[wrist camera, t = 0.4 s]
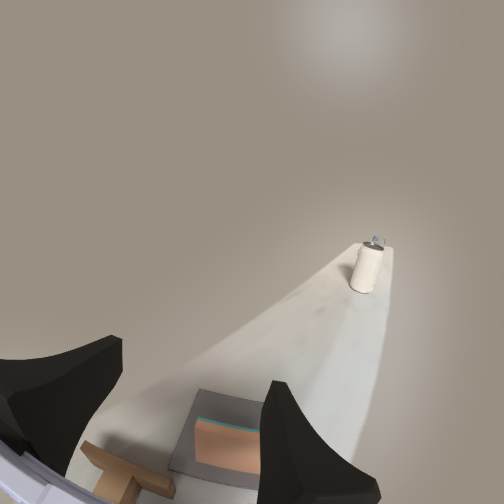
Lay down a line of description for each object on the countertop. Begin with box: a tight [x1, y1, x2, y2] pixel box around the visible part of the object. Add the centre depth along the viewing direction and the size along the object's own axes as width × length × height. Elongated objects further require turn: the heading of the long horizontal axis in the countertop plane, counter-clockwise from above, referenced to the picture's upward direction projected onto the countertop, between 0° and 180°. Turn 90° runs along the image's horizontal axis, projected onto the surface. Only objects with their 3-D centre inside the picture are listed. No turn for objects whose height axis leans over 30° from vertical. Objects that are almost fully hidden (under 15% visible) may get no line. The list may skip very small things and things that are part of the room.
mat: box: [168, 389, 264, 490], centre depth 25 cm, size 12×12×1 cm
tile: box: [194, 417, 260, 474], centre depth 20 cm, size 1×7×8 cm, turn 82°
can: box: [350, 242, 384, 294], centre depth 65 cm, size 6×6×12 cm
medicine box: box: [372, 236, 385, 248], centre depth 85 cm, size 8×4×9 cm, turn 151°
